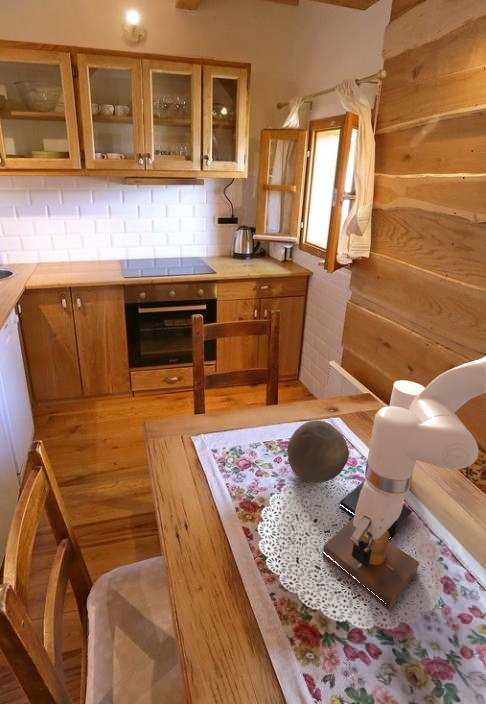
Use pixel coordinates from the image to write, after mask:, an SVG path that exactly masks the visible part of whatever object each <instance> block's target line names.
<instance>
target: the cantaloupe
mask: <svg viewBox="0 0 486 704" xmlns="http://www.w3.org/2000/svg"><path fill="white" fill-rule="evenodd" d="M286 450H287V451H286V452H287V453H286V454H287V460H288V464H289V467H290V468H291V470H292V471H293V473H294V474H295V475H296V476H297V477H298V478H299V479H301V480H302V481H305V482H307V483H312V484H323V483H325V482H328V481H332V480H333V479H334V478H336V477H338V476H339V475H340V474H341V473H342V472H343V470H344V469H345V467H346V465H347V463H348V461H349V457H350V456H349V455H350V451H349V446H348V443H347V441H346V439H345V437H344V435H343V434H342V433H341V432H340V431H339V430H338V429H337V428H336V427H335V426H334V425H333V424H331V423H328V422H327V421H325V420H319V419H317V420H310V421H306V422H304V423H303V424H302V425H300V426H299V427H298V428H296V430H295V431H294V432H293V434H292V435H291V437H290V439H289V441H288V444H287V449H286Z"/></svg>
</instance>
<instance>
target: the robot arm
mask: <svg viewBox="0 0 486 704" xmlns="http://www.w3.org/2000/svg"><path fill="white" fill-rule="evenodd" d="M424 388H425V389H424V390H423V391H421V393H420V394H419V395H418V396H417V397H416V398H415V399H414V400H413V402H412V403H411V405H410V407H409V410H407V409H404V408H401V407H395V406H390V405H388V406H385V407H382V408H380V409H379V410H378V411H377V412H376V413H375V416H374V419H373V425H372V430H371V436H370V443H369V448H368V453H367V460H366V465H365V471H364V479H365V480H364V485H363V487H362V490H361V493H360V496H359V499H358V503H357V507H356V511H355V516H354V520H353V525H354V526H355V527H356V528H357V529H356V530H355V532H354V533H353V535H352V543H353V544H354V545H353V550H352V557H353V558H355V559H356V560H357V561H358V562H360V563H361V564H362V565H364V566H365V567H368V565H369V562H370V556H371V551H372V550H371V549H370V547H371V545H372V543H373V541H374V539H378V538H380V537H381V536H382V535H383V534H384V533H385V532H386V531H387V530H388V532H389V535H390V537H391V538H392V539H394V538H395V537H396V535H395V533H396V528H397V524H398V522H397V521H396V520H398V519H399V517H400V514H401V511H402V508H403V506H404V503H405V498H406V494H407V493H408V492H409V490H410V488H411V487H410V486H411V484H412V483H411V482H412V478H413V474H414V471H415V466H416V461H418V462H421V463H426V464H429V465H431V466H436V467H438V468H443V469H447V470H448V469H449V470H461V469H465V468H468V467H470V466H472V465H473V464H474V463H475V462H476V461H477V459H478V457H479V445H478V443H477V441H476V439H475V437H474V436H473V434H471V432H470V431H469V429H468V428H467V427H466V426H465V425H464V423H463V422H462V420H461V419H460V418H459V417H458V415H457V414H456V412H457V411H459V409H460V408H462V406H463V405H465V404H466V403H467V402H469V401H470V400H472V399H474V398H476V397H478V396H481V395H484V394H486V355H485V356H483V357H482V358H479V359H478V360H477V359H476V360H473V361H469V362H466V363H463V364H461V365H459V366H456V367H453V368H451V369H448V370H447V371H444V372H443V373H440V374H439V375H438V376H436V377H435V378H434V379H433V380H432V381H430V383H428V385H426V386H425V387H424ZM369 527H370V530H371V532H369V531H368V528H369ZM364 534H367V535H368V536H369V540H368V542H367V544H366V543H365V542H364V541H362V538H363V536H364Z"/></svg>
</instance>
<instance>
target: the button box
mask: <svg viewBox="0 0 486 704" xmlns="http://www.w3.org/2000/svg"><path fill="white" fill-rule="evenodd" d="M364 482H365V480H364V481H362V482H360V483H359V484H358V485H357V486H356V487H355V488H354V489H352V490H351V491H350V492H349V493H348V494H346V495H345V496H344V497H343V498H342V499H341V500H340V501H339V506H338V509H339V510H341V511H342V512H343V513H345V514H346V515H348V516H349V517H351V519H353V518H354V516H355V515H353V514H352V513H350V512H349V511H347V510H346V509H345V508H347V509H348V510H350V511H351V512H353V513H354V514H355V511H356V507H357V503H358V499H359V496H360V493H361V490H362V487H363V485H364ZM340 504H341V505H343V506H344V507H345V508H343V507H342V506H340ZM412 513H413V510H412V509H410V508H408V507H406V506H405V505H403V508H402V511H401V514H400V517H399V519H398V520H396V521H397V522H398V524H397V528H396V533H395V536H396V535H397V534H398V533H399V532H400V531H401V530H402V529H403V527H404V526H405V525H406V524H407V523H408V522H409V521H410V520H411V517H412ZM389 538H390V537H389ZM392 540H393V538H390V539H389V542H391V541H392Z"/></svg>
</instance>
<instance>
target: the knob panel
mask: <svg viewBox="0 0 486 704" xmlns="http://www.w3.org/2000/svg"><path fill="white" fill-rule="evenodd" d="M353 520H354V518H351V519H350V520H349V521H348V523H346V524H345V525H344V526H343V527H341V529H340V530H339V531H338V532H336V533H335V535H333V536H332V537H331V538H330V539H329V540H328V541H327V542H325V544H324V545H323V549H322V556H321V557H322V558H323V559H325V560H326V561H327V562H328V563H329V564H330V565H332V566H333V567H334V568H336V569H337V570H338V571H339V572H341V574H343V575H344V576H345V577H347V578H348V579H349V580H350V581H352V583H354V584H355V585H356V586H358V587H359V588H360V589H361V590H362V591H363V592H365V593H366V594H368V596H370V597H371V598H372V599H373V600H375V601H376V602H377V603H379V604H380V605H381V606H382V607H383V608H384V609H385V610H387V611H390V610H391V608H392V607H393V606H394V604H396V602H397V600H398V599H399V598H400V596H402V594H403V593H404V591H405V590H406V588H407V587H408V586H409V585H410V583H411V582H412V581H413V580H414V579H415V577H416V575H417V574H418V570H419V567H420V561H419V560H417V559H416V558H414V557H413V556H411V555H409V554H408V553H407V552H406V551H404V550H402V549H401V548H400V547H398V546H396V545H395V544H393V543H392V542H391V541H390V542H388V546H387V551H386V555H385V560H384V562H383V563H381V564H379V565H372V564H369V565H368V567H365V566H364V565H362V564H361V563H360V562H358V561H357V560H356V559H355V558H353V557H352V550H353V545H354V544H353V543H352V535H353V533H354V532H355V530H356V529H357V528H356V527H355V526H354V525H353ZM323 551H324V552H325V553H326V554H327V555H329V556H330V557H331V558H332V559H333V560H334V561H336V562H337V563H338V564H339V565H340V566H341V567H342V568H343V569H345V570H346V571H347V572H348V573H349V574H348V573H347V572H346V571H345V570H343V569H342V568H341V567H340V566H338V565H337V564H336V563H335V562H333V561H332V560H331V559H330V558H329V557H327V556H326V555H325V554H324V553H323ZM350 574H351V575H352V576H354V577H355V578H356V579H357V580H358V581H359V582H360V583H359V582H358V581H357V580H356V579H354V578H353V577H352V576H351V575H350ZM363 585H364V586H365V587H364V586H363ZM367 588H368V589H369V590H370V591H369V590H368V589H367ZM371 591H372V592H373V593H374V594H375V595H374V594H373V593H372V592H371ZM376 595H377V596H378V597H379V598H380V599H382V600H383V601H384V602H383V601H382V600H380V599H379V598H378V597H377V596H376ZM385 603H386V604H385Z"/></svg>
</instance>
